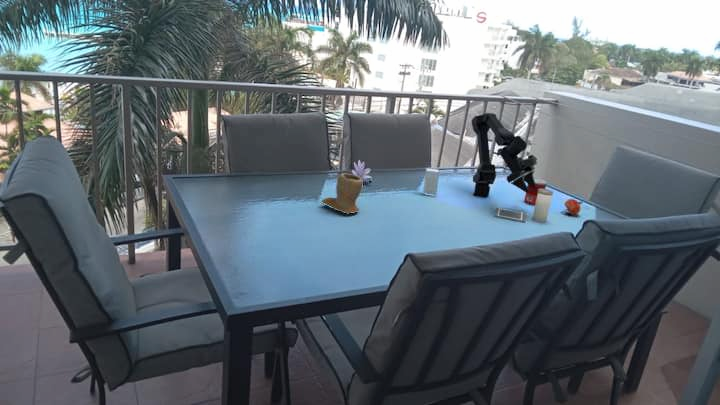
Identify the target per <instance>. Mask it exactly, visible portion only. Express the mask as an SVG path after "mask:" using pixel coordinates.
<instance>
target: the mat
mask: <svg viewBox="0 0 720 405" xmlns="http://www.w3.org/2000/svg"><path fill="white" fill-rule="evenodd" d="M493 218H500V219H504V220H510V221H515V222H520V223H523V224H525V223H526V221H527V213H526V212H521V211H516V210H510V209H505V208H500V207H495V210H494V213H493Z"/></svg>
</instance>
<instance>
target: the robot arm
mask: <svg viewBox="0 0 720 405" xmlns="http://www.w3.org/2000/svg"><path fill="white" fill-rule="evenodd" d="M471 127H472V130H473V131H474V133H475V135H476V137H477V138H476V139H477V148H478V149H477V150H478V161H479V165H478V166H477V169H476V173H475V174H474V175H473V176H472V182H473V183H474V190H473V194H472V195H473V196H474V197H480V198H485V199H487V198H488V197H489V195H490V190H491V186H490V185H494V183H495V181H496V178H497V171H496V164H492V163H491V156H490V145H489V136H488V133H489V131H490V130H491V132H492V133H493V134H494V136H495V137H494V141H495V144H496V145H497V146H499V147H500V148H498V149H497V153H496V156H497V157H498V156H499V157H501V159H503V161H504V163H505V168H507V169H509V170H510V172H511V173H510V174H509V175H507V176H506V179H505V180H506V181H507V182H508V183H509V184H511V185H514V187H516V188H518V189H520V190H521V191H523V192H525V194H526V193H528V192H529V190H528V188H527V185H528V184H529V185H530V186H531V187H532V188H534V189H535V188H536V184H535V181H534V173H535V169H536V168H535V166H536V165H538V163H537V160H538V158H537V157H536V156H535V155H534V154H531V155H528V157H527V158H525V159H523V158H522V157H520V156H519V154H521V153H522V152H523V151H525V150H526V149H527V142H526V141H525V140H524V139H523V138H522V136H521V135H515V134H514V132H512V131H511V130H509V129H507V128H505V127H504V125H503V123H501V121H500V120H499V118H498V117H497V114H496V113H492V112H491V113H490V112H486V113H483V114H480V115H475V116H474V117H473V118H472V119H471Z"/></svg>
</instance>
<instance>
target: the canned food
mask: <svg viewBox="0 0 720 405" xmlns="http://www.w3.org/2000/svg"><path fill="white" fill-rule="evenodd" d="M533 178H534V177H533ZM534 181H535V184H536V188H535V189H534V188H532V187H531V186H530V185H529V184H528V183H527V184H526V186H527V188H528V190H529V192H528V193H526V192H525V196H524V203H525V204H528V205H531V206H535V204H536V200H537V195H538V189H547V188H546V187H547V182H548V181H546V180H544V179H540V178H534Z"/></svg>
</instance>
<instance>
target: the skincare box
mask: <svg viewBox="0 0 720 405" xmlns="http://www.w3.org/2000/svg"><path fill="white" fill-rule="evenodd" d="M424 175H425V176H424V186H423V191H424V193H427V194H433V195H436V196H437V193H438V187H439V186H438V184H439V179H440V177H439V176H440V170H439V169H433V168H426V169H425V174H424Z"/></svg>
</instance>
